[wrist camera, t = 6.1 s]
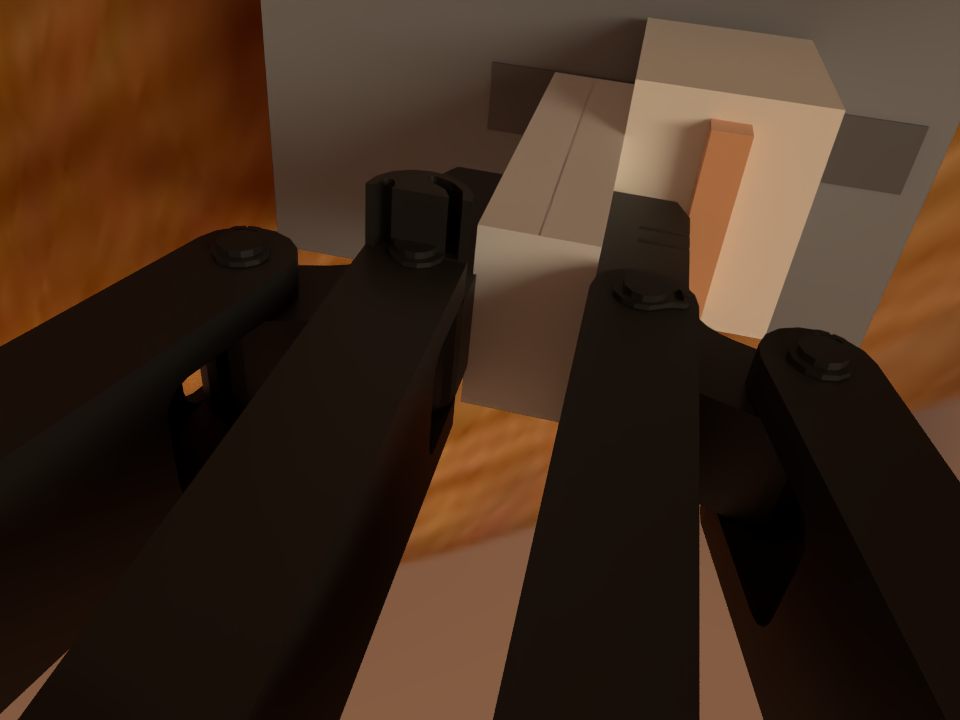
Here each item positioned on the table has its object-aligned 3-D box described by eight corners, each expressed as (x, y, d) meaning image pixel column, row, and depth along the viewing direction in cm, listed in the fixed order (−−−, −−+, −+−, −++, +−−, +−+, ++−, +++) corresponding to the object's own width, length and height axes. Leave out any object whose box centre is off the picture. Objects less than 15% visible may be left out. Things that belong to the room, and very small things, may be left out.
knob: (609, 212, 17) (588, 322, 14) (647, 17, 15) (633, 89, 11) (750, 236, 17) (765, 355, 13) (812, 39, 15) (851, 121, 11)
